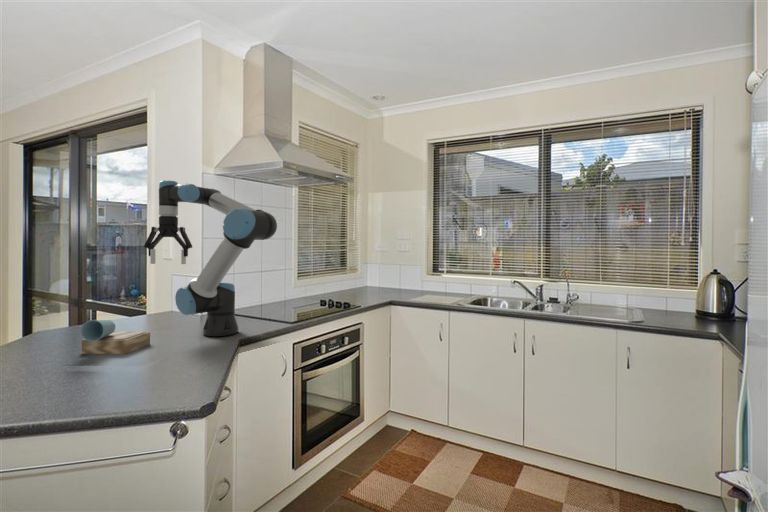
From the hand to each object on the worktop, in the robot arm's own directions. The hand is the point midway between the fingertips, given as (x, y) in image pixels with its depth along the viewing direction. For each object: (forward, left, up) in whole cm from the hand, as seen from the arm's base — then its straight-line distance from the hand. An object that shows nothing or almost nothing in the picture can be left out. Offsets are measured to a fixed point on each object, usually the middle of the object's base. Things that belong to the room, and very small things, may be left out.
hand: (168, 264), depth 187 cm
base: (+6, +26, -32) cm, 41 cm away
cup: (+5, +27, -25) cm, 37 cm away
